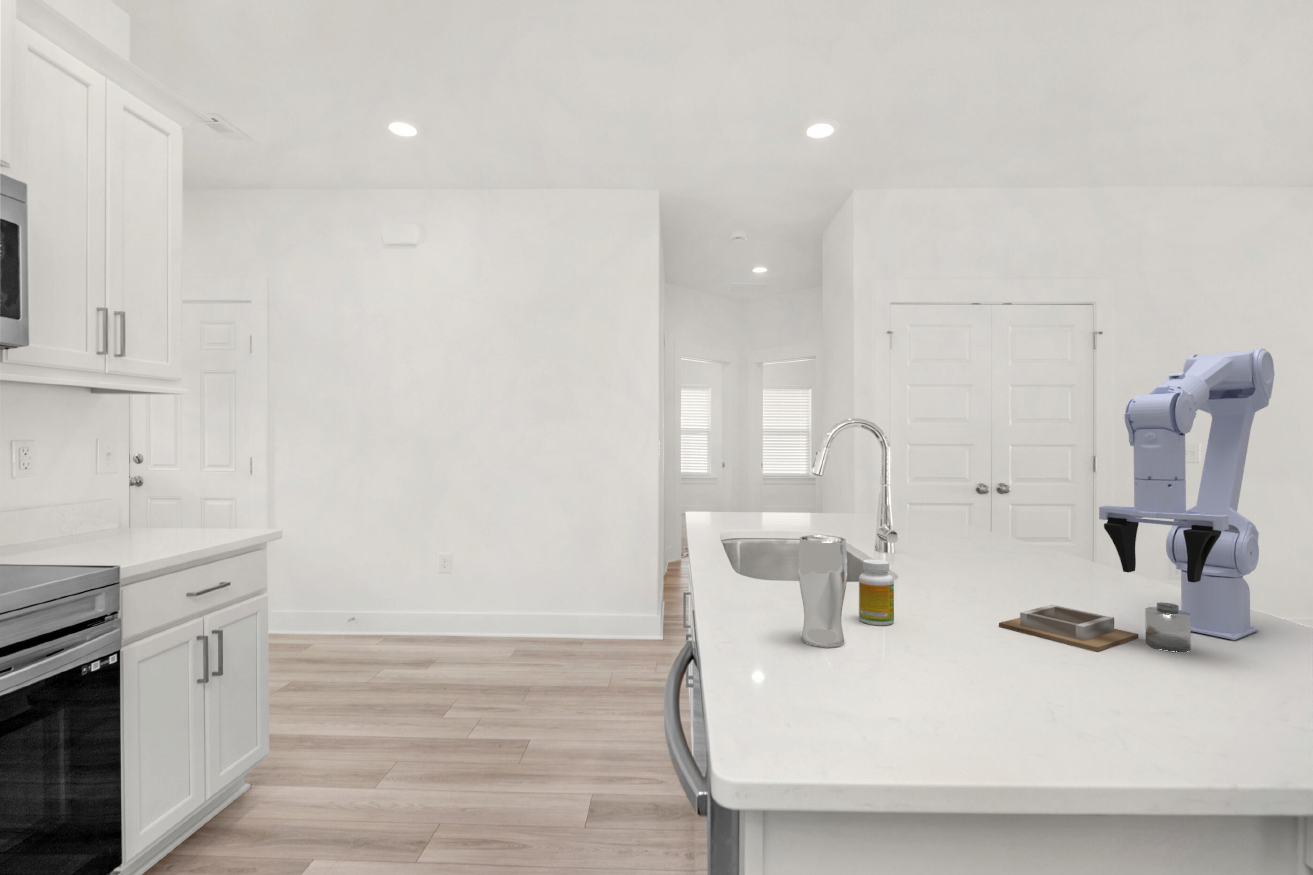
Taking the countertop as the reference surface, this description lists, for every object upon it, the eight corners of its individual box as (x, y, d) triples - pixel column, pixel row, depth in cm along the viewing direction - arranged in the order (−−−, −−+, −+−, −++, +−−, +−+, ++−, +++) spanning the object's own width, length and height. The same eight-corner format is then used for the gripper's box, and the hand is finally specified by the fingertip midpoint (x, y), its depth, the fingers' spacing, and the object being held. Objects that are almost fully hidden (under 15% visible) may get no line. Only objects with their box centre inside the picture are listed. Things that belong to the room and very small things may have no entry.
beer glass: (794, 645, 91) (794, 540, 91) (802, 631, 98) (802, 533, 98) (845, 651, 89) (844, 543, 89) (849, 637, 95) (849, 536, 95)
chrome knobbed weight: (1155, 639, 94) (1154, 598, 94) (1197, 648, 90) (1196, 606, 90) (1138, 645, 91) (1138, 603, 91) (1181, 655, 87) (1181, 610, 87)
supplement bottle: (896, 627, 100) (896, 565, 100) (860, 625, 101) (860, 563, 101) (891, 617, 106) (890, 558, 106) (857, 616, 107) (856, 557, 107)
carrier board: (1041, 615, 106) (1040, 600, 106) (1138, 637, 94) (1138, 620, 94) (998, 626, 100) (998, 610, 100) (1097, 651, 88) (1097, 632, 88)
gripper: (1088, 477, 94) (1089, 570, 94) (1212, 483, 81) (1213, 590, 81) (1111, 475, 97) (1112, 565, 97) (1234, 480, 85) (1235, 583, 85)
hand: (1160, 576), depth 89 cm, fingers open, 7 cm apart
